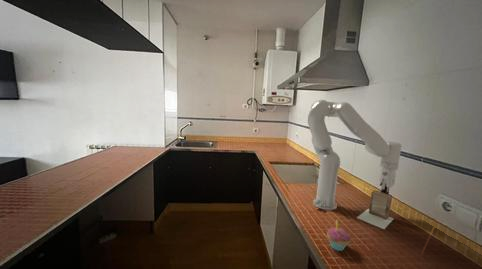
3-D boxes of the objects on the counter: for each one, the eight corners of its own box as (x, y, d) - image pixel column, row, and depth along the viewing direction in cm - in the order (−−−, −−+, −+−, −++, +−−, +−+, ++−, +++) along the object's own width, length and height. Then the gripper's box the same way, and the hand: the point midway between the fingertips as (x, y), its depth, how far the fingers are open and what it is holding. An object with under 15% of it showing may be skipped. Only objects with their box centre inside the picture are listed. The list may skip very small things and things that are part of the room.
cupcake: (338, 256, 75) (341, 226, 74) (320, 242, 83) (323, 214, 81) (354, 251, 79) (358, 222, 77) (335, 237, 86) (339, 211, 85)
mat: (384, 230, 94) (384, 229, 94) (356, 218, 103) (356, 217, 103) (393, 219, 104) (393, 218, 104) (367, 209, 113) (367, 208, 113)
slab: (386, 219, 102) (389, 197, 101) (368, 213, 108) (371, 191, 107) (388, 217, 105) (392, 195, 103) (371, 210, 111) (374, 189, 110)
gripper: (393, 169, 99) (388, 204, 102) (401, 165, 109) (396, 197, 111) (376, 165, 105) (371, 199, 107) (385, 161, 115) (380, 192, 117)
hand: (383, 198), depth 109 cm, fingers closed
